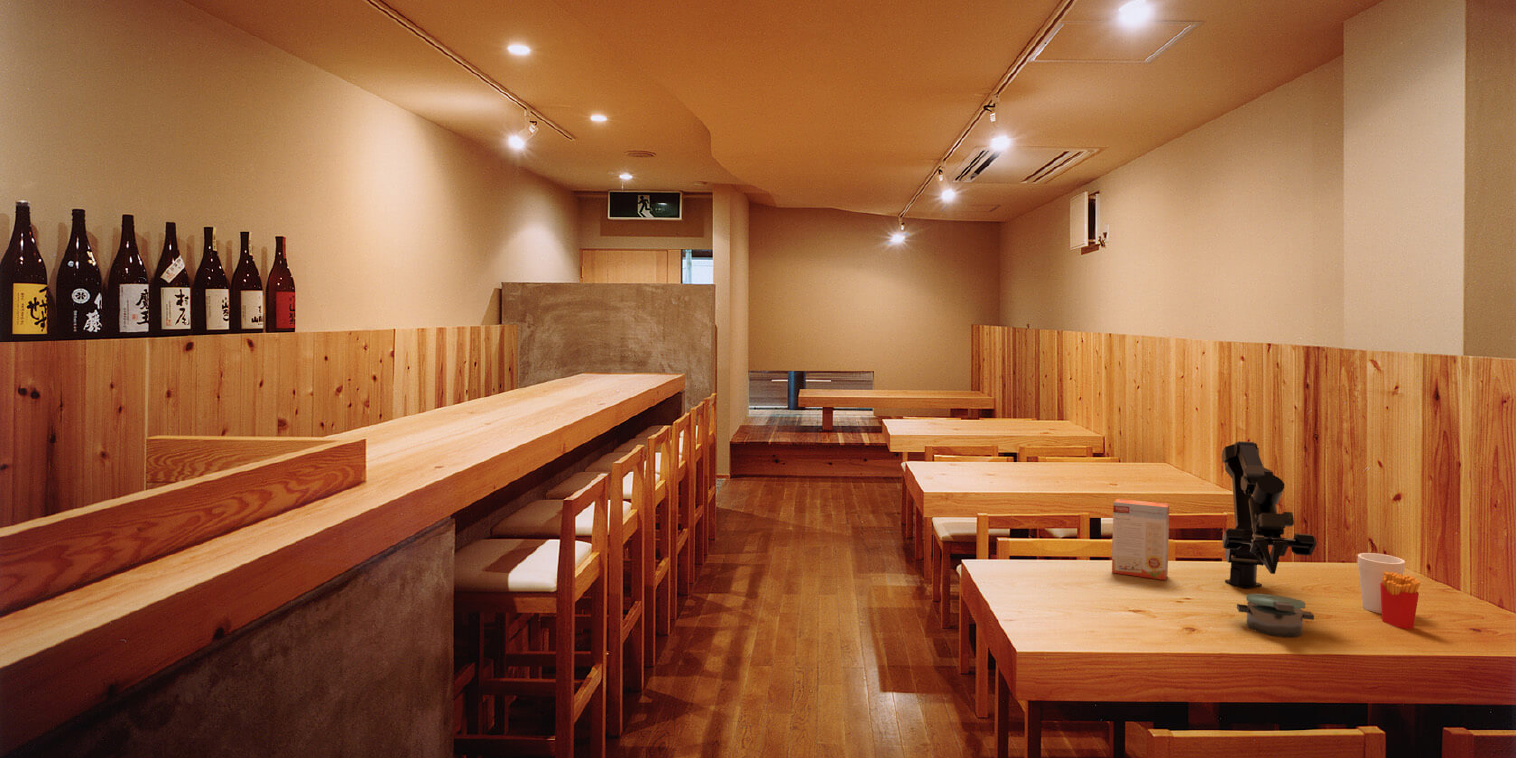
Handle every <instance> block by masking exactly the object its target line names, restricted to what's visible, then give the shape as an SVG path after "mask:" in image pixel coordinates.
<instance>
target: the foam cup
mask: <svg viewBox="0 0 1516 758" xmlns="http://www.w3.org/2000/svg"><path fill="white" fill-rule="evenodd" d="M1357 566H1358V573H1359V584H1360V592H1361V601H1362V603H1361V604H1362V608H1363V609H1364V610H1367V611H1369V612H1372V613H1377V614H1382V610H1381V587H1380V583H1383V576H1384V572H1389V573H1390V572H1394V573H1398V574H1402V575H1403V576H1404V573H1405V571H1406V570H1405V569H1406V561H1405V559H1402V558H1400V557H1397V556H1394V555H1391V554H1390V555H1388V554H1384V553H1383V554H1382V553H1375V552H1374V553H1373V552H1362V553H1361V552H1360V553H1357Z"/></svg>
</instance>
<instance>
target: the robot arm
mask: <svg viewBox="0 0 1516 758" xmlns="http://www.w3.org/2000/svg"><path fill="white" fill-rule="evenodd" d="M1221 451H1222V452H1221V462H1222V464H1224V470H1225V472H1226V473H1227V474H1228V475H1229V477H1230V478H1231V481H1232V495H1233V511H1234V524H1235V525H1234V526H1235V528H1229V527H1227V528H1226V529H1225V531H1224V534H1223V537H1222V548H1224V549H1225V551H1224V555H1225V557H1224V558H1225V560H1226V562H1227V563H1229V564H1230V568H1229V569H1230V570H1229V572H1230V573H1229V574H1230V575H1229V579H1225V580H1224V582H1225V583H1226V584H1229V585H1233V586H1236V587H1239V588H1243V589H1252V588H1258V587H1262V586H1263V585H1262V583H1260V582H1257V572H1258V571H1257V570H1258V566H1262V567H1263V566H1264V567H1265V568H1266V570H1267V571H1268V572H1269V574H1271V575H1275V574H1276V572H1277V571H1276V570H1277V568H1278V563H1279V558H1280V557H1284V556H1285V555H1286V554H1287V551H1288V548H1290V549H1291V552H1292V553H1293V554H1294V555H1296V556H1305V557H1306V556H1312V555H1313V553H1314V551H1315V549H1316V547H1317V544H1318V543H1317V538H1316V537H1315V536H1314V535H1313V534H1310V533H1309V534H1308V533H1299V532H1295V533H1294V535H1293V537H1292V538H1291V537H1289V538H1288V537H1282V535H1283V536H1284V533H1285V529H1286V527H1289V528H1291V527H1293V526H1294V525H1295V522H1294V521H1295V519H1294V514H1293V512H1292V511H1290V512H1289V511H1283V512H1282V513H1278V510H1277V505H1278V504H1279V502H1280V500H1281V498H1282V495H1283V492H1284V489H1285V482H1284V481H1283V480H1282V479H1281V478H1280V477H1278V476H1276V475H1275V473H1274V472H1273V471H1272V470H1270V469H1269V468H1267V467H1265V466H1264V464H1263V461H1262V459H1261V457H1260V448H1259V447H1258V444H1257V442H1254V441H1235V443H1234V444H1231V445H1228V446H1224V448H1223V450H1221ZM1269 546H1270V547H1271V551H1270V550H1269Z"/></svg>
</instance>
